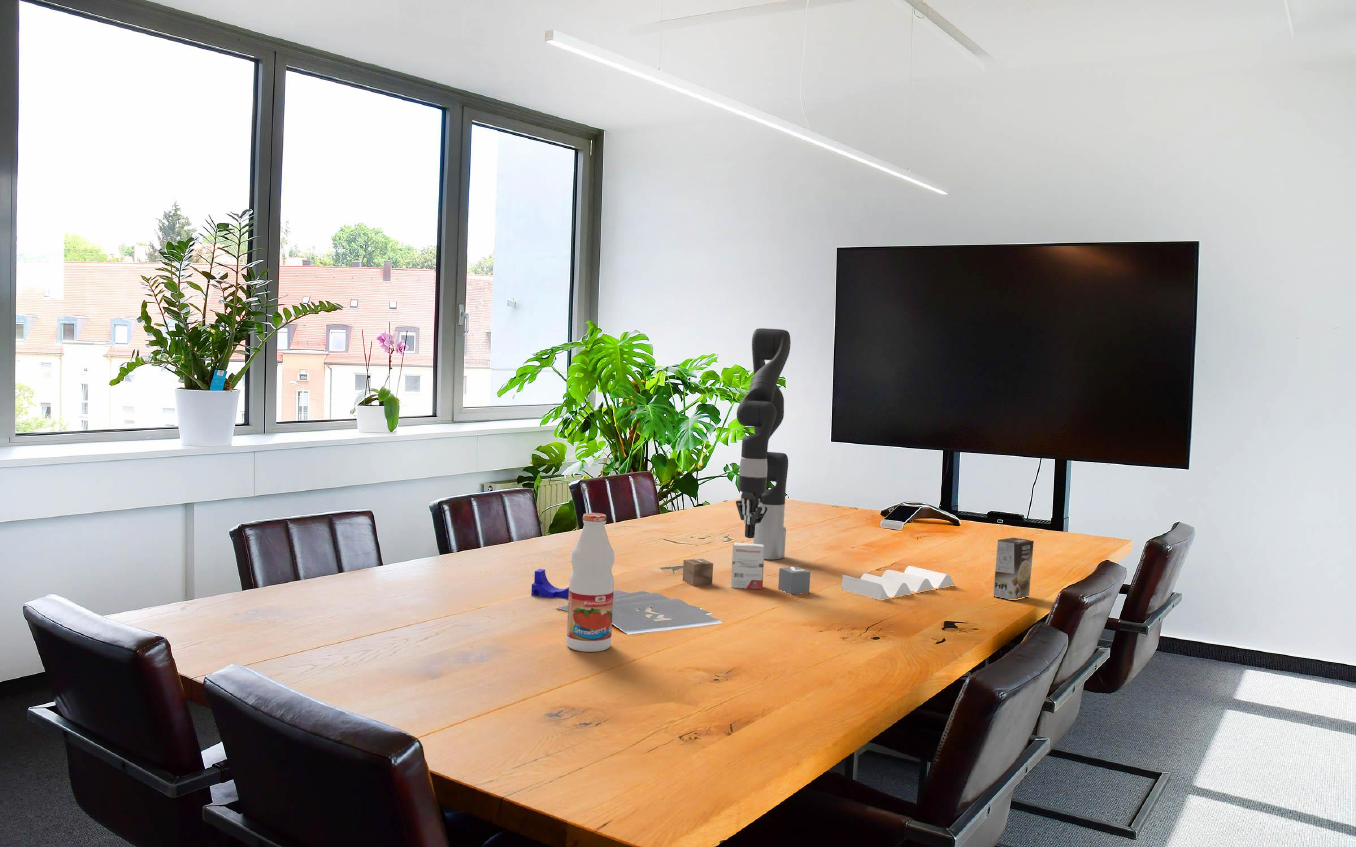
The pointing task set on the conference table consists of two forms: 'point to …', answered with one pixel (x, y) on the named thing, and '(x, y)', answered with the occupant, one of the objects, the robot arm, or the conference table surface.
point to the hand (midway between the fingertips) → (749, 537)
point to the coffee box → (1013, 568)
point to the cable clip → (546, 587)
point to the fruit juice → (591, 588)
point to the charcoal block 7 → (794, 580)
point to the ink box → (747, 566)
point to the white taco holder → (896, 582)
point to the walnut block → (697, 572)
